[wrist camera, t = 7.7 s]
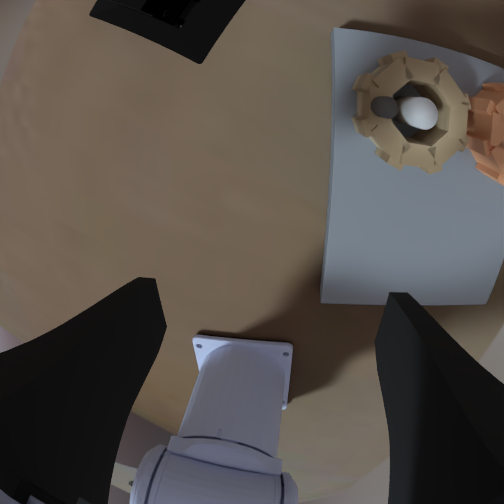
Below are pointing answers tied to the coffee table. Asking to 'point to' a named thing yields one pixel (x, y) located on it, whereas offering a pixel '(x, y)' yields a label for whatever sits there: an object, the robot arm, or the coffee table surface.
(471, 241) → the gear board
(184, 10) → the black piece
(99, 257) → the coffee table surface
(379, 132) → the gear
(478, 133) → the gear
